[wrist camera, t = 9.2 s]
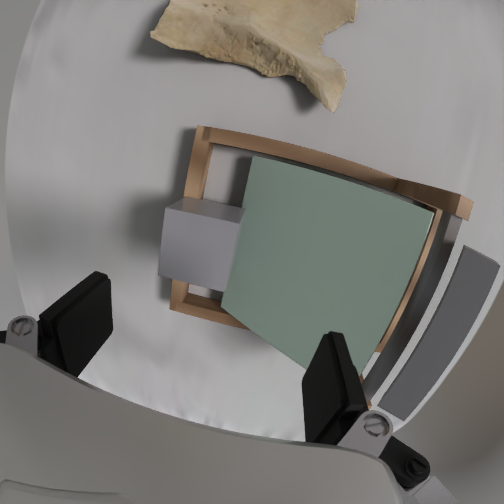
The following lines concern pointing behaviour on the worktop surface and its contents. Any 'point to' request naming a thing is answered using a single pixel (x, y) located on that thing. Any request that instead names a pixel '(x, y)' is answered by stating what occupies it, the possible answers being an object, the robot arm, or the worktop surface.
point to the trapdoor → (344, 274)
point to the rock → (263, 37)
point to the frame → (437, 200)
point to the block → (200, 242)
